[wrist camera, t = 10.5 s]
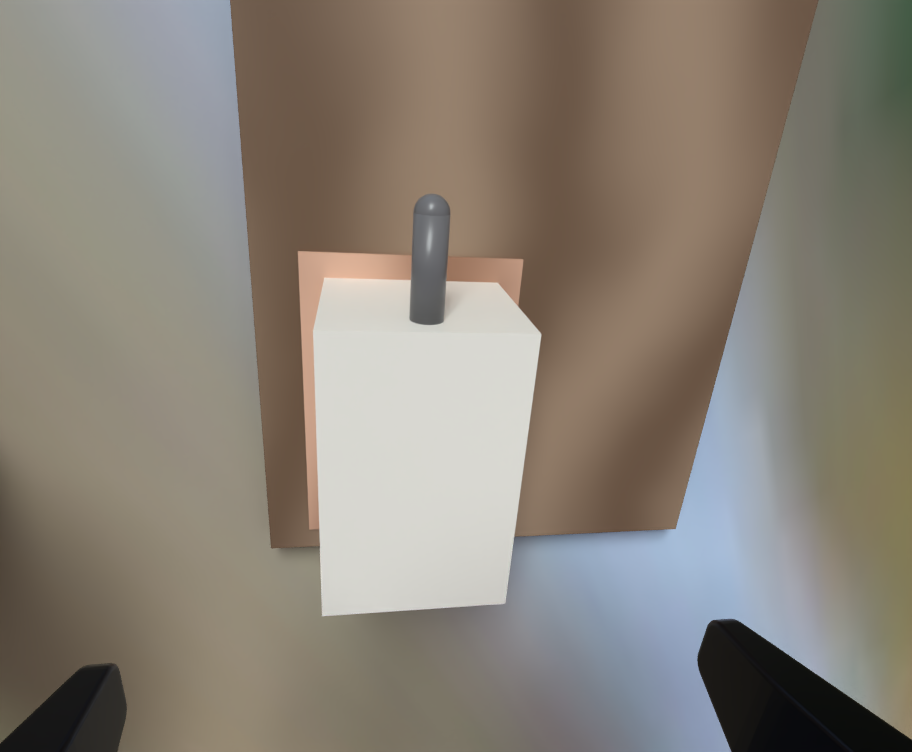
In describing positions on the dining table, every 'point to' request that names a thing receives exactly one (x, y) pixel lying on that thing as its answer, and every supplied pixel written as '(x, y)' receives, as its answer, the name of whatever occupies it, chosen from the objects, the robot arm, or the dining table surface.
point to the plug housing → (419, 432)
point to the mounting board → (519, 211)
